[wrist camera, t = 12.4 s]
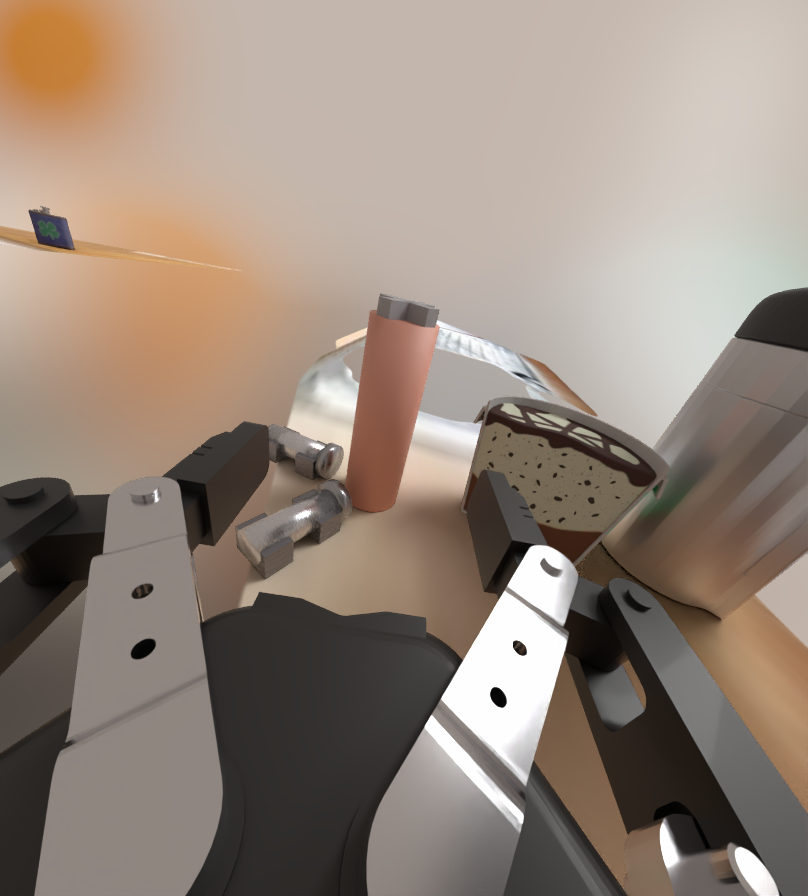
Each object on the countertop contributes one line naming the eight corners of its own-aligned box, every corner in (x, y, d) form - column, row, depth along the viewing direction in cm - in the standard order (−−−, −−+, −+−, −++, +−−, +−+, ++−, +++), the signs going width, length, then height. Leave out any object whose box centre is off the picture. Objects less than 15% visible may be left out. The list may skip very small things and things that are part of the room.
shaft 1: (341, 468, 28) (345, 441, 26) (322, 485, 25) (324, 455, 24) (282, 443, 29) (283, 415, 28) (258, 456, 27) (257, 426, 25)
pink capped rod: (406, 498, 26) (457, 312, 19) (368, 519, 23) (412, 306, 16) (372, 472, 28) (406, 297, 21) (333, 488, 25) (357, 289, 18)
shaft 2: (322, 503, 24) (326, 472, 22) (349, 524, 22) (355, 493, 21) (235, 549, 19) (232, 513, 17) (263, 581, 17) (262, 544, 16)
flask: (77, 250, 103) (66, 211, 97) (70, 250, 100) (59, 210, 95) (42, 243, 100) (29, 203, 95) (35, 243, 98) (21, 201, 92)
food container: (592, 534, 27) (662, 438, 22) (592, 581, 22) (681, 472, 17) (467, 474, 32) (502, 383, 27) (444, 502, 27) (482, 397, 22)
